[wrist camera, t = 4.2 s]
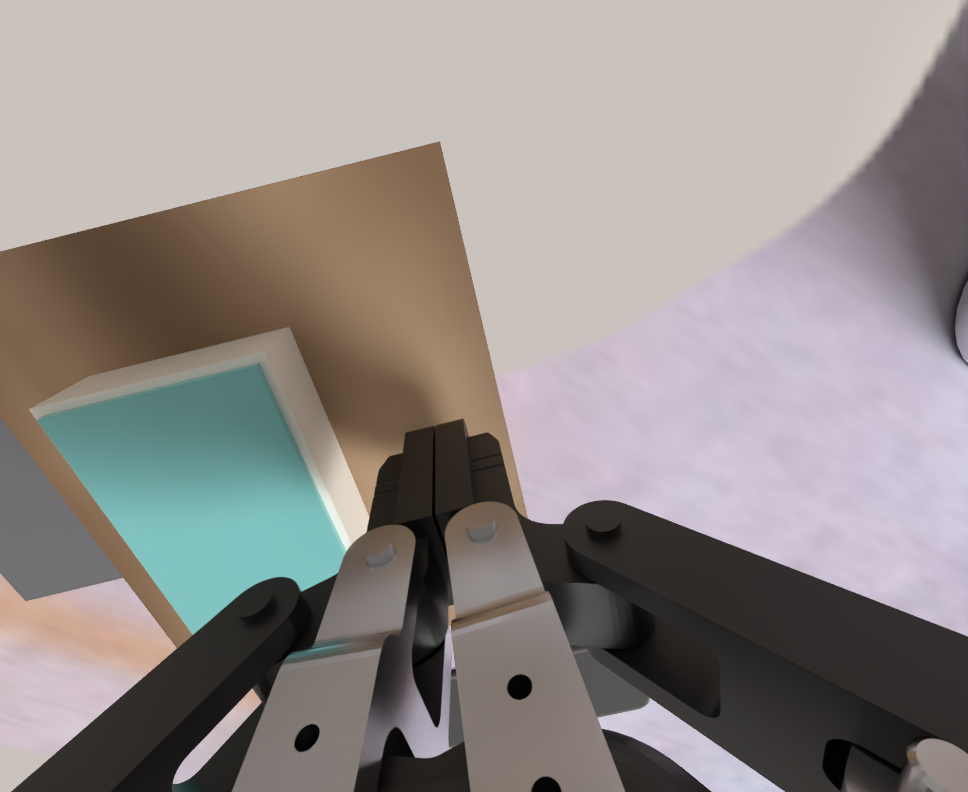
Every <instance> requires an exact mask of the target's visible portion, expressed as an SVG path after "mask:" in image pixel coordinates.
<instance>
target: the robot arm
mask: <svg viewBox="0 0 968 792" xmlns="http://www.w3.org/2000/svg"><path fill="white" fill-rule="evenodd" d="M955 333H956V340H957V346H958V348H959V350H960V352H961V355H962V357H963V359H964V360H965V361H966V362H967V363H968V281H967V283H966V285H965V287H964V289H963V292H962V295H961V298H960V301H959V305H958V308H957V314H956V323H955ZM376 485H377V486H375V491H374V498H373V501H372V506H371V511H370V517H369V522H368V527H367V532H366V533H365V534H364V535H362V536H361V537H359V538H358V539H357V540H356V541H355V542H354V543H352V545H351V546H350V547H349V548H348V550H347V551H346V553H345V555H344V557H343V560H342V563H341V566H340V569H339V572H338V573H337V574H335V575H334V576H332V577H330V578H328V579H326V580H324V581H322V582H320V583H318V584H316V585H314V586H312V587H310V588H308V589H306V590H304V591H302V592H301V590H300V588H299V586H298V584H297V583H296V582H295V581H294V580H293V579H291V578H288V577H275V578H270V579H267V580H264V581H262V582H259V583H257V584H255V585H253V586H252V587H250V588H248V589H247V590H245V591H244V592H243V593H241V594H240V595H239V596H237V597H236V598H235V599H234V600H233V601H232V602H231V603H229V604H228V605H227V606H226V607H225V608H224V609H222V610H221V611H220V612H219V613H218V614H217V615H215V616H214V617H213V618H212V619H211V620H210V621H209V622H207V623H206V624H205V625H204V626H203V627H202V628H200V629H199V630H198V631H197V632H196V633H195V634H193V635H192V636H191V637H190V638H189V639H188V640H186V641H185V642H184V643H183V644H182V645H181V646H180V647H178V648H177V649H176V650H175V651H174V652H173V653H171V654H170V655H169V656H168V657H167V658H166V659H164V660H163V661H162V662H161V663H160V664H159V665H158V666H156V667H155V668H154V669H153V670H152V671H151V672H149V673H148V674H147V675H146V676H145V677H144V678H142V679H141V680H140V681H139V682H138V683H137V684H135V685H134V686H133V687H132V688H131V689H130V690H129V691H127V692H126V693H125V694H124V695H123V696H122V697H120V698H119V699H118V700H117V701H116V702H115V703H113V704H112V705H111V706H110V707H109V708H108V709H107V710H105V711H104V712H103V713H102V714H101V715H100V716H98V717H97V718H96V719H95V720H94V721H93V722H91V723H90V724H89V725H88V726H87V727H86V728H85V729H83V730H82V731H81V732H80V733H79V734H78V735H76V736H75V737H74V738H73V739H72V740H71V741H69V742H68V743H67V744H66V745H65V746H64V747H62V748H61V749H60V750H59V751H58V752H57V753H56V754H54V755H53V756H52V757H51V758H50V759H49V760H47V761H46V762H45V763H44V764H43V765H42V766H41V767H40V768H38V769H37V770H36V771H35V772H34V773H32V774H31V775H30V776H29V777H28V778H27V779H26V780H24V781H23V782H22V783H21V784H20V785H19V786H17V787H16V788H15V789H14V790H13V791H12V792H711V791H710V790H709V789H707V788H706V787H705V786H704V785H703V784H701V783H700V782H699V781H698V780H696V779H695V778H694V777H693V776H692V775H690V774H689V773H688V772H687V771H685V770H684V769H683V768H682V767H680V766H679V765H678V764H677V763H675V762H674V761H673V760H671V759H670V758H668V757H667V756H665V755H664V754H662V753H660V752H659V751H657V750H656V749H654V748H653V747H651V746H649V745H647V744H645V743H643V742H640V741H638V740H636V739H634V738H632V737H629V736H626V735H623V734H620V733H617V732H614V731H609V730H604V729H601V726H600V724H599V721H598V719H597V716H596V713H595V711H594V708H593V705H592V703H591V700H590V698H589V695H588V692H587V690H586V687H585V684H584V682H583V679H582V676H581V674H580V671H579V669H578V666H577V663H576V661H575V658H574V655H573V653H572V650H571V647H570V645H574V646H585V647H586V649H587V650H588V652H589V653H590V655H591V656H592V657H593V658H594V659H595V660H597V661H598V662H599V663H600V664H602V665H603V666H605V667H606V668H608V669H609V670H611V671H612V672H613V673H615V674H616V675H618V676H619V677H621V678H622V679H624V680H625V681H626V682H628V683H629V684H631V685H632V686H634V687H635V688H637V689H638V690H639V691H641V692H642V693H644V694H645V695H647V696H648V697H649V698H651V699H652V700H654V701H655V702H657V703H658V704H660V705H661V706H662V707H664V708H665V709H667V710H668V711H670V712H671V713H673V714H674V715H675V716H677V717H678V718H680V719H681V720H683V721H684V722H686V723H687V724H688V725H690V726H691V727H693V728H694V729H696V730H697V731H699V732H700V733H701V734H703V735H704V736H706V737H707V738H709V739H710V740H712V741H713V742H714V743H716V744H717V745H719V746H720V747H722V748H723V749H725V750H726V751H727V752H729V753H730V754H732V755H733V756H735V757H736V758H738V759H739V760H740V761H742V762H743V763H745V764H746V765H748V766H749V767H750V768H752V769H753V770H755V771H756V772H758V773H759V774H761V775H762V776H763V777H765V778H766V779H768V780H769V781H771V782H772V783H774V784H775V785H776V786H778V787H779V788H781V789H782V790H784V791H785V792H968V637H967V636H965V635H962V634H960V633H957V632H955V631H952V630H949V629H947V628H944V627H942V626H939V625H936V624H934V623H931V622H929V621H926V620H924V619H921V618H918V617H916V616H913V615H911V614H908V613H906V612H903V611H900V610H898V609H895V608H893V607H890V606H887V605H885V604H882V603H880V602H877V601H875V600H872V599H869V598H867V597H864V596H862V595H859V594H856V593H854V592H851V591H849V590H846V589H844V588H841V587H838V586H836V585H833V584H831V583H828V582H826V581H823V580H820V579H818V578H815V577H813V576H810V575H807V574H805V573H802V572H800V571H797V570H795V569H792V568H789V567H787V566H784V565H782V564H779V563H777V562H774V561H771V560H769V559H766V558H764V557H761V556H758V555H756V554H753V553H751V552H748V551H746V550H743V549H740V548H738V547H735V546H733V545H730V544H727V543H725V542H722V541H720V540H717V539H715V538H712V537H709V536H707V535H704V534H702V533H699V532H697V531H694V530H691V529H689V528H686V527H684V526H681V525H678V524H676V523H673V522H671V521H668V520H666V519H663V518H660V517H658V516H655V515H653V514H650V513H647V512H645V511H642V510H640V509H637V508H635V507H632V506H629V505H627V504H624V503H621V502H617V501H609V500H602V501H593V502H589V503H586V504H584V505H581V506H579V507H577V508H576V509H574V510H573V511H572V512H571V513H570V514H569V515H568V516H567V518H566V519H565V521H564V524H543V523H537V522H534V521H531V520H529V519H527V518H525V517H524V516H522V515H521V514H520V513H519V512H518V510H517V509H516V507H515V505H514V501H513V497H512V493H511V489H510V485H509V480H508V476H507V472H506V468H505V464H504V460H503V456H502V452H501V448H500V444H499V440H497V439H496V438H495V437H494V436H492V435H491V434H490V433H488V432H486V433H482V434H478V435H474V436H470V437H469V434H468V431H467V427H466V424H465V421H464V418H463V419H459V420H454V421H450V422H446V423H442V424H438V425H436V426H435V427H434V426H430V427H426V428H422V429H418V430H414V431H410V432H406V433H405V439H404V447H403V453H400V454H396V455H392V456H389V457H388V458H387V460H386V461H385V462H384V464H383V465H382V466H381V468H380V469H379V471H378V476H377V481H376ZM451 605H454V607H455V615H456V619H453V620H452V621H451V632H450V630H449V627H448V624H449V616H448V606H451ZM451 634H452V636H451ZM452 643H453V651H454V659H455V668H456V676H457V684H458V692H459V701H460V709H461V717H462V725H463V734H464V742H462V743H460V744H458V745H456V746H455V747H453V748H451V749H449V742H448V730H449V707H450V685H451V662H452ZM252 688H253V690H254V691H255V693H256V694H257V696H258V697H259V698H260V700H261V701H262V703H261V704H260V705H259V706H258V707H257V708H256V709H255V711H254V712H253V713H252V714H251V715H250V716H249V717H248V718H247V719H246V720H245V721H244V722H243V724H242V725H241V726H240V727H239V728H238V729H237V730H236V731H235V732H234V733H233V734H232V736H231V737H230V738H229V739H228V740H227V741H226V742H225V743H224V744H223V745H222V746H221V747H220V749H219V750H218V751H217V752H216V753H215V754H214V755H213V756H212V757H211V758H210V759H209V761H208V762H207V763H206V764H205V765H204V766H203V767H202V768H201V769H200V770H199V771H198V772H197V773H196V774H195V775H194V776H193V777H191V778H190V779H188V780H187V781H185V782H182V783H180V784H172V783H173V779H174V776H175V774H176V771H177V769H178V768H179V766H180V764H181V763H182V762H183V760H184V759H185V758H186V757H187V756H188V755H189V753H190V752H191V751H192V750H193V749H194V748H195V747H196V746H197V745H198V744H199V743H200V742H201V741H202V740H203V739H204V738H205V737H206V736H207V735H208V734H209V733H210V732H211V731H212V729H213V728H214V727H215V726H216V725H217V724H218V723H219V722H220V721H221V720H222V719H223V718H224V717H225V716H226V715H227V714H228V713H229V712H230V711H231V710H232V709H233V708H234V707H235V705H236V704H237V703H238V702H239V701H240V700H241V699H242V698H243V697H244V696H245V695H246V694H247V693H248V692H249V691H250V690H251V689H252Z"/></svg>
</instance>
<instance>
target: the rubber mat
mask: <svg viewBox="0 0 968 792" xmlns="http://www.w3.org/2000/svg"><path fill="white" fill-rule="evenodd" d="M0 573H1V574H2V576H3V577H4V578H5V579H6V580H7V581H8V582H9V583H10V584H11V585H12V586H13V588H14V589H15V590H16V591H17V592H18V593H19V594H20V595H21V596H22V597H23V598H24V600H25V601H28V600H32V599H37V598H41V597H45V596H49V595H53V594H57V593H61V592H66V591H70V590H74V589H78V588H82V587H86V586H90V585H95V584H99V583H103V582H107V581H111V580H115V579H120V578H123V577H122V575H121V574H120V573H119V571H118V570H117V569H116V567H115V566H114V565H113V563H112V562H111V561H110V560H109V558H108V557H107V556H106V554H105V553H104V552H103V550H102V549H101V548H100V546H99V545H98V544H97V543H96V541H95V540H94V539H93V537H92V536H91V535H90V533H89V532H88V531H87V529H86V528H85V527H84V525H83V524H82V523H81V522H80V520H79V519H78V518H77V516H76V515H75V514H74V512H73V511H72V510H71V508H70V507H69V506H68V505H67V503H66V502H65V501H64V499H63V498H62V497H61V495H60V494H59V493H58V491H57V490H56V489H55V488H54V486H53V485H52V484H51V482H50V481H49V480H48V478H47V477H46V476H45V474H44V473H43V472H42V470H41V469H40V468H39V467H38V465H37V464H36V463H35V461H34V460H33V459H32V457H31V456H30V455H29V453H28V452H27V451H26V450H25V448H24V447H23V446H22V444H21V443H20V442H19V440H18V439H17V438H16V436H15V435H14V434H13V433H12V431H11V430H10V429H9V427H8V426H7V425H6V423H5V422H4V421H3V419H2V418H1V417H0Z"/></svg>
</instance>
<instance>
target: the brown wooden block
mask: <svg viewBox="0 0 968 792" xmlns="http://www.w3.org/2000/svg"><path fill="white" fill-rule="evenodd" d="M287 327H290V329H291V331H292V334H293V336H294V339H295V341H296V343H297V346H298V348H299V351H300V353H301V355H302V358H303V360H304V362H305V365H306V367H307V370H308V372H309V374H310V377H311V379H312V381H313V384H314V386H315V389H316V391H317V393H318V396H319V398H320V401H321V403H322V405H323V408H324V410H325V412H326V415H327V417H328V420H329V422H330V424H331V427H332V429H333V432H334V434H335V436H336V439H337V441H338V443H339V446H340V448H341V451H342V453H343V455H344V458H345V460H346V462H347V465H348V467H349V470H350V472H351V474H352V477H353V479H354V482H355V484H356V486H357V489H358V491H359V493H360V496H361V498H362V501H363V503H364V505H365V508H366V510H367V513H368V515H369V517H370V511H371V506H372V501H373V498H374V491H375V486H377V485H376V481H377V476H378V471H379V469H380V468H381V466H382V465H383V464H384V462H385V461H386V460H387V458H388V457H389V456H392V455H396V454H400V453H403V447H404V439H405V433H406V432H410V431H414V430H418V429H422V428H426V427H430V426H434V427H435V426H436V425H438V424H442V423H446V422H450V421H454V420H459V419H463V418H464V421H465V424H466V427H467V431H468V434H469V437H470V436H474V435H478V434H482V433H486V432H488V433H490V434H491V435H492V436H494V437H495V438H496V439H497V440H499V444H500V448H501V452H502V456H503V460H504V464H505V468H506V472H507V476H508V480H509V485H510V489H511V493H512V497H513V501H514V505H515V507H516V509H517V510H518V512H519V513H520V514H521V515H522V516H524V517H525V518H527V519H528V517H527V513H526V508H525V504H524V500H523V495H522V491H521V487H520V483H519V478H518V474H517V470H516V465H515V461H514V457H513V453H512V448H511V444H510V440H509V435H508V431H507V427H506V423H505V418H504V414H503V410H502V406H501V401H500V397H499V393H498V388H497V384H496V380H495V376H494V371H493V367H492V363H491V358H490V354H489V350H488V346H487V341H486V337H485V333H484V329H483V324H482V320H481V316H480V311H479V307H478V303H477V299H476V295H475V290H474V286H473V281H472V277H471V273H470V269H469V264H468V261H467V256H466V252H465V247H464V243H463V239H462V234H461V230H460V226H459V222H458V217H457V213H456V209H455V204H454V200H453V196H452V192H451V188H450V183H449V179H448V175H447V170H446V166H445V162H444V158H443V153H442V149H441V145H440V142H437V143H432V144H428V145H424V146H420V147H416V148H413V149H408V150H405V151H400V152H396V153H392V154H388V155H385V156H381V157H376V158H372V159H369V160H364V161H360V162H357V163H352V164H348V165H344V166H341V167H337V168H333V169H328V170H325V171H320V172H317V173H312V174H308V175H305V176H300V177H296V178H292V179H289V180H285V181H281V182H277V183H273V184H269V185H265V186H261V187H257V188H253V189H249V190H245V191H241V192H237V193H233V194H229V195H225V196H221V197H217V198H213V199H209V200H205V201H201V202H197V203H193V204H189V205H185V206H181V207H177V208H173V209H169V210H165V211H161V212H157V213H153V214H149V215H145V216H141V217H137V218H133V219H129V220H125V221H121V222H117V223H113V224H109V225H105V226H101V227H97V228H93V229H89V230H85V231H81V232H77V233H73V234H69V235H65V236H61V237H57V238H53V239H49V240H45V241H41V242H37V243H33V244H29V245H25V246H21V247H17V248H14V249H9V250H5V251H1V252H0V417H1V418H2V419H3V421H4V422H5V423H6V425H7V426H8V427H9V429H10V430H11V431H12V433H13V434H14V435H15V436H16V438H17V439H18V440H19V442H20V443H21V444H22V446H23V447H24V448H25V450H26V451H27V452H28V453H29V455H30V456H31V457H32V459H33V460H34V461H35V463H36V464H37V465H38V467H39V468H40V469H41V470H42V472H43V473H44V474H45V476H46V477H47V478H48V480H49V481H50V482H51V484H52V485H53V486H54V488H55V489H56V490H57V491H58V493H59V494H60V495H61V497H62V498H63V499H64V501H65V502H66V503H67V505H68V506H69V507H70V508H71V510H72V511H73V512H74V514H75V515H76V516H77V518H78V519H79V520H80V522H81V523H82V524H83V525H84V527H85V528H86V529H87V531H88V532H89V533H90V535H91V536H92V537H93V539H94V540H95V541H96V543H97V544H98V545H99V546H100V548H101V549H102V550H103V552H104V553H105V554H106V556H107V557H108V558H109V560H110V561H111V562H112V563H113V565H114V566H115V567H116V569H117V570H118V571H119V573H120V574H121V575H122V577H123V578H124V579H125V580H126V582H127V583H128V584H129V586H130V587H131V588H132V590H133V591H134V592H135V594H136V595H137V596H138V598H139V599H140V600H141V601H142V603H143V604H144V605H145V607H146V608H147V609H148V611H149V612H150V613H151V615H152V616H153V617H154V618H155V620H156V621H157V622H158V624H159V625H160V626H161V628H162V629H163V630H164V632H165V633H166V634H167V635H168V637H169V638H170V639H171V641H172V642H173V643H174V645H175V646H176V647H177V648H178V647H180V646H181V645H182V644H183V643H184V642H185V641H186V640H188V639H189V638H190V637H191V636H192V635H193V634H192V633H191V632H190V630H189V629H188V627H187V626H186V625H185V623H184V622H183V621H182V619H181V618H180V616H179V615H178V614H177V612H176V611H175V610H174V608H173V607H172V605H171V604H170V603H169V601H168V600H167V599H166V597H165V596H164V594H163V593H162V592H161V590H160V589H159V588H158V586H157V585H156V583H155V582H154V581H153V579H152V578H151V577H150V575H149V574H148V572H147V571H146V570H145V568H144V567H143V566H142V564H141V563H140V561H139V560H138V559H137V557H136V556H135V555H134V553H133V552H132V550H131V549H130V548H129V546H128V545H127V544H126V542H125V541H124V540H123V538H122V537H121V535H120V534H119V533H118V531H117V530H116V529H115V527H114V526H113V524H112V523H111V522H110V520H109V519H108V518H107V516H106V515H105V513H104V512H103V511H102V509H101V508H100V507H99V505H98V504H97V502H96V501H95V500H94V498H93V497H92V496H91V494H90V493H89V491H88V490H87V489H86V487H85V486H84V485H83V483H82V482H81V480H80V479H79V478H78V476H77V475H76V474H75V472H74V471H73V469H72V468H71V467H70V465H69V464H68V463H67V461H66V460H65V459H64V457H63V456H62V454H61V453H60V452H59V450H58V449H57V448H56V446H55V445H54V443H53V442H52V441H51V439H50V438H49V437H48V435H47V434H46V432H45V431H44V430H43V428H42V427H41V426H40V424H39V423H38V421H37V420H36V419H35V417H34V416H33V415H32V413H31V412H30V410H29V409H30V408H32V407H34V406H36V405H37V404H39V403H41V402H43V401H45V400H47V399H48V398H50V397H52V396H54V395H56V394H57V393H59V392H61V391H63V390H65V389H66V388H68V387H70V386H72V385H74V384H75V383H77V382H79V381H81V380H83V379H85V378H86V377H88V376H92V375H96V374H100V373H104V372H108V371H112V370H116V369H120V368H124V367H129V366H133V365H137V364H141V363H145V362H149V361H153V360H157V359H161V358H165V357H169V356H173V355H177V354H181V353H185V352H189V351H193V350H197V349H202V348H206V347H210V346H214V345H218V344H222V343H226V342H230V341H234V340H238V339H242V338H246V337H250V336H254V335H258V334H262V333H266V332H271V331H275V330H279V329H283V328H287ZM448 616H449V624H448V626H450V625H451V621H452V620H453V619H456V615H455V607H454V605H451V606H448Z"/></svg>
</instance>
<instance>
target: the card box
mask: <svg viewBox="0 0 968 792" xmlns="http://www.w3.org/2000/svg"><path fill="white" fill-rule="evenodd" d="M29 410H30V412H31V413H32V415H33V416H34V417H35V419H36V420H37V421H38V423H39V424H40V426H41V427H42V428H43V430H44V431H45V432H46V434H47V435H48V437H49V438H50V439H51V441H52V442H53V443H54V445H55V446H56V448H57V449H58V450H59V452H60V453H61V454H62V456H63V457H64V459H65V460H66V461H67V463H68V464H69V465H70V467H71V468H72V469H73V471H74V472H75V474H76V475H77V476H78V478H79V479H80V480H81V482H82V483H83V485H84V486H85V487H86V489H87V490H88V491H89V493H90V494H91V496H92V497H93V498H94V500H95V501H96V502H97V504H98V505H99V507H100V508H101V509H102V511H103V512H104V513H105V515H106V516H107V518H108V519H109V520H110V522H111V523H112V524H113V526H114V527H115V529H116V530H117V531H118V533H119V534H120V535H121V537H122V538H123V540H124V541H125V542H126V544H127V545H128V546H129V548H130V549H131V550H132V552H133V553H134V555H135V556H136V557H137V559H138V560H139V561H140V563H141V564H142V566H143V567H144V568H145V570H146V571H147V572H148V574H149V575H150V577H151V578H152V579H153V581H154V582H155V583H156V585H157V586H158V588H159V589H160V590H161V592H162V593H163V594H164V596H165V597H166V599H167V600H168V601H169V603H170V604H171V605H172V607H173V608H174V610H175V611H176V612H177V614H178V615H179V616H180V618H181V619H182V621H183V622H184V623H185V625H186V626H187V627H188V629H189V630H190V632H191V633H192V634H195V633H196V632H197V631H198V630H199V629H200V628H202V627H203V626H204V625H205V624H206V623H207V622H209V621H210V620H211V619H212V618H213V617H214V616H215V615H217V614H218V613H219V612H220V611H221V610H222V609H224V608H225V607H226V606H227V605H228V604H229V603H231V602H232V601H233V600H234V599H235V598H236V597H237V596H239V595H240V594H241V593H243V592H244V591H245V590H247V589H248V588H250V587H252V586H253V585H255V584H257V583H259V582H262V581H264V580H267V579H270V578H275V577H288V578H291V579H293V580H294V581H295V582H296V583H297V584H298V586H299V588H300V590H301V592H302V591H304V590H306V589H308V588H310V587H312V586H314V585H316V584H318V583H320V582H322V581H324V580H326V579H328V578H330V577H332V576H334V575H335V574H337V573H338V572H339V569H340V566H341V563H342V560H343V557H344V555H345V553H346V551H347V550H348V548H349V547H350V546H351V545H352V543H354V542H355V541H356V540H357V539H358V538H359V537H361V536H362V535H364V534H365V533H366V532H367V527H368V522H369V515H368V513H367V510H366V508H365V505H364V503H363V501H362V498H361V496H360V493H359V491H358V489H357V486H356V484H355V482H354V479H353V477H352V474H351V472H350V470H349V467H348V465H347V462H346V460H345V458H344V455H343V453H342V451H341V448H340V446H339V443H338V441H337V439H336V436H335V434H334V432H333V429H332V427H331V424H330V422H329V420H328V417H327V415H326V412H325V410H324V408H323V405H322V403H321V401H320V398H319V396H318V393H317V391H316V389H315V386H314V384H313V381H312V379H311V377H310V374H309V372H308V370H307V367H306V365H305V362H304V360H303V358H302V355H301V353H300V351H299V348H298V346H297V343H296V341H295V339H294V336H293V334H292V331H291V329H290V327H287V328H283V329H279V330H275V331H271V332H266V333H262V334H258V335H254V336H250V337H246V338H242V339H238V340H234V341H230V342H226V343H222V344H218V345H214V346H210V347H206V348H202V349H197V350H193V351H189V352H185V353H181V354H177V355H173V356H169V357H165V358H161V359H157V360H153V361H149V362H145V363H141V364H137V365H133V366H129V367H124V368H120V369H116V370H112V371H108V372H104V373H100V374H96V375H92V376H88V377H86V378H85V379H83V380H81V381H79V382H77V383H75V384H74V385H72V386H70V387H68V388H66V389H65V390H63V391H61V392H59V393H57V394H56V395H54V396H52V397H50V398H48V399H47V400H45V401H43V402H41V403H39V404H37V405H36V406H34V407H32V408H30V409H29Z"/></svg>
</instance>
